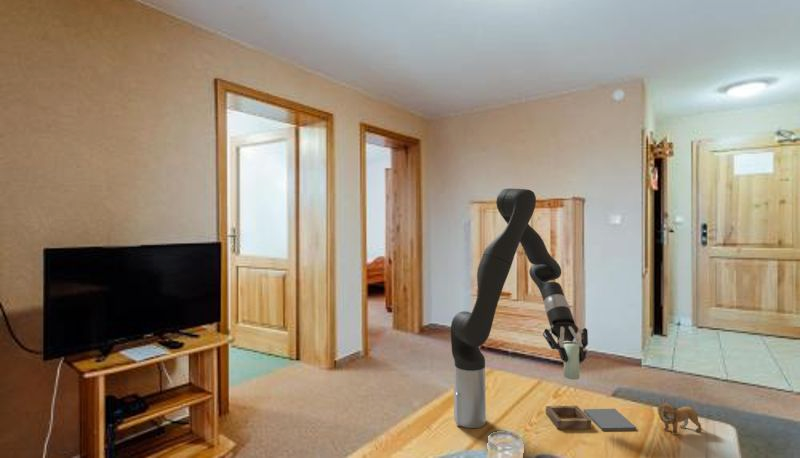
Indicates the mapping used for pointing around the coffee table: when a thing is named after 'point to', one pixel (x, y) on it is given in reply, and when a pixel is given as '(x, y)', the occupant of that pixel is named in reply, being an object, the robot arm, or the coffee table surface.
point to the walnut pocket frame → (562, 424)
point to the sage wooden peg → (572, 361)
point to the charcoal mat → (609, 419)
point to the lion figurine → (677, 416)
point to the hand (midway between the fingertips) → (574, 360)
